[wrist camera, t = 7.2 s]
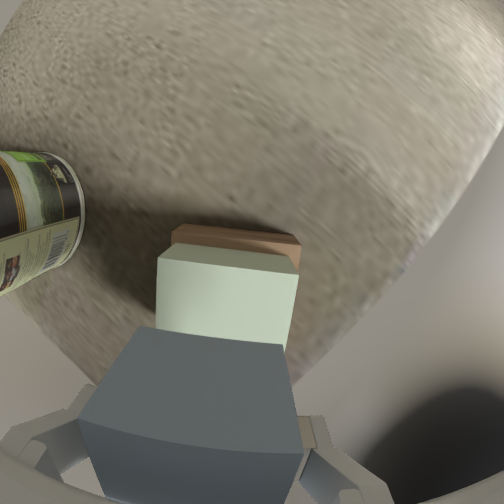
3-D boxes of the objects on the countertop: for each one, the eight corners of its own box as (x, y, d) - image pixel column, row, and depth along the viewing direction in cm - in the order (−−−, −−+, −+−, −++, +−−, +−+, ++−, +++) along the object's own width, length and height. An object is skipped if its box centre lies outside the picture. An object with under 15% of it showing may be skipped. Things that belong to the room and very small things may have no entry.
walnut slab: (184, 222, 23) (171, 231, 19) (292, 234, 23) (301, 245, 19) (179, 321, 24) (168, 345, 20) (278, 331, 25) (282, 358, 21)
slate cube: (139, 325, 10) (77, 417, 5) (282, 344, 10) (304, 453, 5) (146, 425, 11) (113, 514, 6) (262, 440, 11) (267, 537, 7)
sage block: (175, 242, 19) (157, 257, 15) (289, 256, 19) (299, 274, 15) (171, 342, 20) (156, 374, 16) (272, 354, 21) (276, 389, 17)
